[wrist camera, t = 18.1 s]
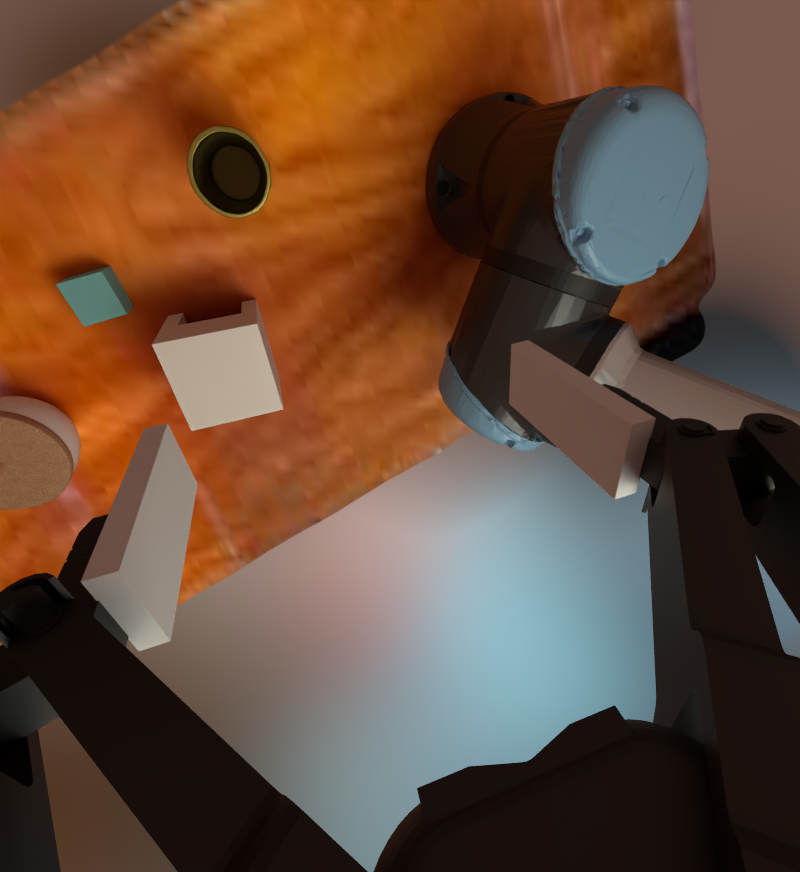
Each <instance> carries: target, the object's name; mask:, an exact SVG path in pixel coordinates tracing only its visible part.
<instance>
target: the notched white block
mask: <svg viewBox="0 0 800 872" xmlns="http://www.w3.org/2000/svg"><path fill="white" fill-rule="evenodd" d="M186 323H187V321H186V318H185V316H184V313H179V314H174V315H168V317H167V319H166V320H165V322H164V324H163V326H162V327H161V329H160V331H159V333H158V334H157V336H156V338H155V340H154V341H153V343H152V346H153V348H154V351H155V353H156V355H157V357H158V359H159V361H160V364H161V366H162V368H163V370H164V372H165V374H166V377H167V379H168V381H169V383H170V385H171V387H172V390H173V392H174V394H175V396H176V398H177V400H178V403H179V405H180V407H181V409H182V411H183V413H184V416H185V418H186V420H187V422H188V424H189V426H190V429H191V431H194V430H198V429H202V428H207V427H211V426H215V425H219V424H224V423H228V422H232V421H236V420H241V419H245V418H249V417H253V416H257V415H262V414H266V413H270V412H274V411H279V410H283V403H282V396H281V388H280V381H279V374H278V371H277V367H276V364H275V361H274V357H273V354H272V351H271V347H270V344H269V340H268V337H267V334H266V330H265V327H264V324H263V320H262V317H261V314H260V310H259V307H258V303H257V300H256V299H254V300H248V301H243V302H242V308H241V313H240V314H235V315H230V316H224V317H219V318H214V319H209V320H204V321H198V322H193V323H188V324H186Z"/></svg>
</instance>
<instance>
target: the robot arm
mask: <svg viewBox="0 0 800 872" xmlns="http://www.w3.org/2000/svg"><path fill="white" fill-rule="evenodd" d="M706 141H707V138H706V134H705V131H704V128H703V125H702V123H701V120H700V118H699V117H698V115H697V113H696V112H695V110H694V109H693V107H692V106H691V105H690V104H689V103H688V102H687V101H686V100H685V99H684V98H683V97H682V96H681V95H679V94H678V93H676V92H674V91H672V90H670V89H667V88H664V87H660V86H636V87H622V86H616V87H615V88H613V87H607V88H603V89H601V90H598V91H596V92H595V93H593V94H589V95H584V96H580V97H576V98H572V99H568V100H563V101H559V102H555V103H551V104H547V105H543V104H541V103H539V102H538V101H536V100H534V99H533V98H531V97H529V96H526V95H523V94H520V93H515V92H499V93H494V94H490V95H487V96H484V97H481V98H478V99H476V100H474V101H472V102H470V103H468V104H467V105H465V106H464V107H462V108H461V109H460V110H459V111H458V112H457V113H456V114H454V116H453V117H452V118H451V119H450V120H449V121H448V122H447V124H446V125H445V127H444V128H443V130H442V131H441V133H440V135H439V136H438V138H437V140H436V143H435V145H434V147H433V150H432V153H431V156H430V160H429V164H428V169H427V177H426V196H427V203H428V208H429V212H430V215H431V218H432V221H433V223H434V225H435V227H436V229H437V231H438V232H439V234H440V235H441V237H442V238H443V239H444V240H445V241H446V242H447V243H448V244H449V245H450V246H451V247H452V248H454V249H455V250H457V251H459V252H461V253H463V254H465V255H468V256H470V257H473V258H477V259H482V260H481V261H482V262H480V264H479V267H478V269H477V272H476V275H475V277H474V280H473V283H472V286H471V288H470V291H469V294H468V296H467V299H466V301H465V304H464V307H463V309H462V312H461V314H460V317H459V320H458V322H457V325H456V327H455V330H454V333H453V335H452V338H451V340H450V341H449V342H448V344H447V346H446V356H445V360H444V363H443V366H442V369H441V372H440V375H439V381H438V385H439V390H440V393H441V395H442V398H443V400H444V402H445V404H446V405H447V407H448V408H449V409H450V410H451V411H452V413H453V414H454V415H455V416H456V417H457V418H459V419H460V420H461V421H462V422H463V423H464V424H466V425H467V426H468V427H470V428H471V429H472V430H474V431H475V432H477V433H479V434H480V435H482V436H483V437H485V438H487V439H489V440H491V441H493V442H495V443H498V444H500V445H502V444H504V443H505V444H506V445H507V446H509V447H510V448H512V449H516V450H522V451H527V450H533V449H536V448H537V447H538V446H539V445H542V444H543V443H544V441H545V442H547V443H549V444H551V445H553V446H554V447H557V448H559V449H560V450H561V451H562V452H563V453H564V454H565V455H566V456H567V457H569V458H570V459H571V460H572V461H573V462H574V463H575V464H576V465H577V466H579V467H580V468H581V469H582V470H583V471H584V472H585V473H586V474H587V475H588V476H590V477H591V478H592V479H593V480H594V481H595V482H596V483H597V484H598V485H600V486H601V487H602V488H603V489H604V490H605V491H606V492H607V493H608V494H609V495H610V496H612V497H613V498H614V499H618V498H621V497H624V496H627V495H630V494H633V493H636V490H637V487H638V483H639V479H640V477H641V478H642V479H643V480H645V481H646V482H647V483H648V484H650V485H649V488H648V492H647V495H646V499H645V502H644V506H643V509H642V512H644V513H645V512H646V511H647V508H648V526H649V527H648V529H649V548H650V570H651V591H652V611H653V634H654V655H655V676H656V708H655V713H654V720H653V723H652V722H647V721H642V720H630V719H628V720H624V718H623V717H622V715H621V714H620V712H619V711H618V709H617V708H616V707H615V706H612V707H610V708H607V709H605V710H603V711H600V712H598V713H596V714H593V715H591V716H588V717H586V718H584V719H581V720H579V721H576V722H574V723H572V724H569V725H568V726H567V727H566V728H565V729H564V730H563V731H562V732H561V733H560V734H559V735H557V736H556V737H555V738H554V739H553V740H552V741H551V742H550V743H549V744H548V745H546V746H545V747H544V748H543V749H542V750H541V751H540V752H539V753H538V754H537V755H536V756H534V757H533V758H532V759H531V760H529V761H527V762H521V763H509V764H497V765H484V766H470V767H467V768H464V769H462V770H460V771H457V772H455V773H453V774H450V775H448V776H446V777H443V778H441V779H438V780H436V781H433V782H431V783H429V784H426V785H424V786H422V787H419V788H417V790H418V794H419V798H420V804H419V805H418V806H416V807H415V808H414V809H413V810H412V811H411V812H410V813H409V814H408V815H407V816H406V817H405V818H404V820H403V821H402V822H401V823H400V824H399V825H398V827H397V828H396V830H395V831H394V832H393V834H392V835H391V837H390V838H389V840H388V842H387V844H386V846H385V848H384V850H383V851H382V853H381V855H380V857H379V860H378V862H377V865H376V867H375V870H374V872H800V658H798V657H795V656H791V655H787V654H786V653H785V652H784V650H783V648H782V645H781V642H780V639H779V635H778V632H777V628H776V625H775V621H774V618H773V614H772V611H771V608H770V604H769V601H768V597H767V594H766V591H765V587H764V583H763V580H762V577H761V573H760V570H759V566H758V563H757V559H756V556H757V558H758V559H759V561H760V562H761V564H762V566H763V567H764V569H765V570H766V572H767V573H768V575H769V577H770V578H771V579H772V581H773V583H774V584H775V586H776V587H777V589H778V591H779V592H780V594H781V595H782V597H783V598H784V600H785V602H786V603H787V605H788V606H789V608H790V609H791V611H792V612H793V614H794V616H795V617H796V619H797V620H798V622H799V623H800V412H799V411H796V410H793V409H791V408H788V407H786V406H783V405H781V404H778V403H776V402H773V401H771V400H768V399H765V398H763V397H760V396H758V395H755V394H753V393H750V392H748V391H745V390H742V389H740V388H737V387H735V386H732V385H730V384H727V383H725V382H722V381H719V380H717V379H714V378H711V377H709V376H707V375H704V374H701V373H699V372H696V371H694V370H691V369H689V368H686V367H684V366H681V365H678V364H676V363H673V362H671V361H668V360H666V359H663V358H661V357H658V356H655V355H653V354H650V353H648V352H645V351H644V350H643V349H642V348H640V346H639V344H638V341H637V338H636V336H635V333H634V330H633V328H632V325H631V324H630V323H628V322H624V321H622V320H619V319H616V318H614V317H611V316H610V315H609V313H610V311H611V309H612V307H613V305H614V303H615V301H616V299H617V297H618V296H619V294H620V292H621V290H622V288H623V286H624V285H628V284H630V283H631V284H632V283H635V282H639V281H642V280H644V279H647V278H649V277H651V276H652V275H653V274H655V273H656V269H657V267H664V266H666V265H667V264H668V263H669V262H670V261H671V260H672V259H673V258H674V257H675V256H676V255H677V253H678V252H679V251H680V249H681V248H682V247H683V245H684V244H685V242H686V241H687V239H688V238H689V236H690V234H691V232H692V230H693V228H694V226H695V224H696V222H697V219H698V217H699V214H700V212H701V209H702V206H703V203H704V199H705V195H706V190H707V184H708V176H709V159H708V158H707V157H706ZM196 490H197V482H196V480H195V478H194V476H193V474H192V472H191V470H190V468H189V466H188V464H187V462H186V460H185V458H184V456H183V454H182V452H181V450H180V448H179V446H178V444H177V442H176V440H175V438H174V436H173V433H172V431H171V429H170V427H169V425H168V423H167V424H162V425H158V426H154V427H149V428H145V429H144V430H143V432H142V435H141V437H140V440H139V442H138V444H137V447H136V449H135V452H134V454H133V456H132V459H131V461H130V464H129V466H128V469H127V471H126V473H125V476H124V478H123V481H122V483H121V485H120V488H119V490H118V493H117V495H116V498H115V500H114V502H113V505H112V507H111V510H110V512H109V514H108V515H104V516H100V517H96V518H93V519H92V520H91V521H90V522H89V523H88V524H87V525H86V526H85V527H84V528H83V529H82V530H81V531H80V532H79V534H78V536H77V538H76V540H75V542H74V544H73V547H72V549H73V550H71V551H70V553H69V555H68V557H67V559H66V560H67V562H65V563H64V566H63V568H62V570H61V572H60V574H59V576H58V578H56V577H55V576H53V575H51V574H48V573H41V574H34V575H31V576H28V577H25V578H22V579H20V580H19V581H17V582H15V583H13V584H11V585H10V586H8V587H6V588H5V589H4V590H3V591H1V592H0V642H1V643H2V644H3V645H1V646H0V872H61V871H60V865H59V858H58V852H57V846H56V840H55V834H54V827H53V821H52V815H51V809H50V803H49V796H48V791H47V784H46V778H45V771H44V765H43V759H42V753H41V747H40V741H39V734H38V729H39V728H41V727H42V726H44V725H46V724H47V723H49V722H51V721H52V720H54V719H56V718H57V717H59V716H60V718H61V719H62V720H63V722H64V723H65V724H66V725H67V727H68V728H69V730H70V731H71V732H72V733H73V735H74V736H75V737H76V739H77V740H78V741H79V743H80V744H81V745H82V747H83V748H84V749H85V751H86V752H87V753H88V754H89V756H90V757H91V758H92V760H93V761H94V762H95V764H96V765H97V766H98V768H99V769H100V770H101V772H102V773H103V774H104V775H105V777H106V778H107V779H108V781H109V782H110V783H111V785H112V786H113V787H114V789H115V790H116V791H117V792H118V794H119V795H120V796H121V798H122V799H123V800H124V802H125V803H126V804H127V806H128V807H129V808H130V810H131V811H132V812H133V814H134V815H135V816H136V817H137V819H138V820H139V821H140V823H141V824H142V825H143V827H144V828H145V829H146V831H147V832H148V833H149V835H150V836H151V837H152V839H153V840H154V841H155V842H156V844H157V845H158V846H159V848H160V849H161V850H162V852H163V853H164V854H165V856H166V857H167V858H168V860H169V861H170V862H171V863H172V865H173V866H174V867H175V869H176V870H177V871H178V872H367V871H366V870H365V869H364V868H363V867H362V866H361V865H360V864H359V863H358V862H357V861H356V860H355V859H354V858H352V857H351V856H350V855H349V854H348V853H347V852H346V851H345V850H344V849H343V848H342V847H341V846H340V845H339V844H337V843H336V842H335V841H334V840H333V839H332V838H331V837H330V836H329V835H328V834H327V833H326V832H325V831H324V830H323V829H322V828H321V827H320V826H318V825H317V824H316V823H315V822H314V821H313V820H312V819H311V818H310V817H309V816H308V815H307V814H306V813H305V812H304V811H302V810H301V809H300V808H299V807H298V806H297V805H295V803H294V802H292V801H291V800H290V799H289V798H287V797H286V796H285V795H282V794H281V793H279V792H278V791H277V790H276V789H275V788H274V787H273V786H272V785H270V784H269V783H268V782H267V781H266V780H265V779H264V778H263V777H262V776H261V775H260V774H259V773H258V772H257V771H256V770H255V769H254V768H253V767H252V766H251V765H249V764H248V763H247V762H246V761H245V760H244V759H243V758H242V757H241V756H240V755H239V754H238V753H237V752H236V751H235V750H233V748H232V747H230V746H229V745H228V744H227V743H226V742H225V741H224V740H223V739H222V738H221V737H220V736H219V735H218V734H217V733H216V732H215V731H214V730H213V729H211V728H210V727H209V726H208V725H207V724H206V723H205V722H204V721H203V720H202V719H201V718H200V717H199V716H198V715H197V714H196V713H195V712H193V711H192V710H191V709H190V708H189V707H188V706H187V705H186V704H185V703H184V702H183V701H182V700H181V699H180V698H179V697H177V695H176V694H174V693H173V692H172V691H171V690H170V689H169V688H168V687H167V686H166V685H165V684H164V683H163V682H162V681H161V680H159V678H157V676H156V675H154V674H153V673H152V672H151V671H150V670H149V669H148V668H147V667H146V666H145V665H144V664H143V663H142V662H141V661H140V660H139V659H138V658H136V657H135V656H134V655H133V654H132V653H131V652H130V651H129V650H128V649H127V648H126V644H127V640H128V639H129V640H130V641H131V642H132V644H133V645H134V646H135V648H136V649H137V650H138V651H141V650H144V649H147V648H150V647H154V646H157V645H160V644H163V643H166V642H169V641H171V636H172V630H173V624H174V618H175V613H176V607H177V601H178V595H179V589H180V583H181V578H182V572H183V566H184V560H185V554H186V548H187V542H188V537H189V531H190V525H191V519H192V513H193V507H194V501H195V496H196ZM755 555H756V556H755Z"/></svg>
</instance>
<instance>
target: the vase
mask: <svg viewBox="0 0 800 872" xmlns="http://www.w3.org/2000/svg"><path fill="white" fill-rule="evenodd" d="M187 171H188V175H189V179H190V183H191V185H192V188H193V190H194V191H195V193H196V194H197V195H198V197H199V198H200V199H201V200H202V202H203V203H204V204H205V205H206V206H208V207H209V208H210V209H212V210H214V211H215V212H217V213H219V214H221V215H223V216H225V217H229V218H245V217H248V216H250V215H252V214H254V213H256V212H258V211H259V210H260V209H261V208H262V207H263V205H264V204H265V202H266V201H267V198H268V194H269V191H270V188H271V175H270V164H269V162H268V161H267V159H266V157H265V155H264V154H263V152H262V150H261V149H260V147H259V146H258V144H257V143H256V142H255V141H254V140H253V139H252V138H251V137H250V136H248V135H247V134H246V133H244V132H243V131H241V130H239V129H236V128H234V127H227V126H211V127H210V128H208V129H206V130H204V131H202V132H200V133H199V134H197V135H196V136H195V137H194V139H193V140H192V142H191V145H190V148H189V152H188V157H187Z"/></svg>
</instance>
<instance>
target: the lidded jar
mask: <svg viewBox="0 0 800 872" xmlns="http://www.w3.org/2000/svg"><path fill="white" fill-rule="evenodd" d="M80 449H81V443H80V437H79V434H78V431H77V429H76V427H75V425H74V424H73V422H72V421H71V420H70V419H69V417H68V416H66V415H65V414H64V413H63V412H62V411H61V410H59V409H58V408H56V407H54V406H53V405H51V404H49V403H46V402H44V401H41V400H38V399H35V398H29V397H24V396H1V397H0V509H5V510H18V509H27V508H32V507H37V506H40V505H43V504H46V503H48V502H50V501H52V500H53V499H55V498H56V497H58V496H59V495H60V494H61V493H62V492H63V491H64V490H65V489H66V487H67V486H68V484H69V482H70V481H71V478H72V475H73V473H74V471H75V469H76V466H77V463H78V460H79V457H80Z"/></svg>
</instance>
